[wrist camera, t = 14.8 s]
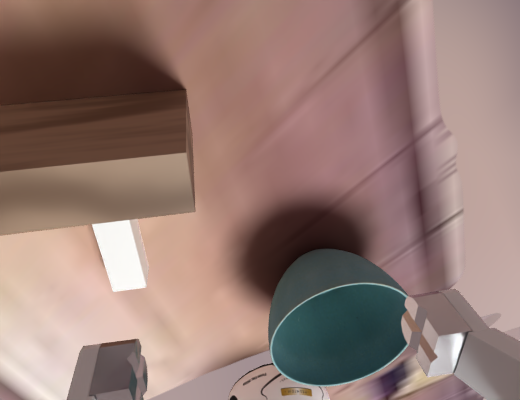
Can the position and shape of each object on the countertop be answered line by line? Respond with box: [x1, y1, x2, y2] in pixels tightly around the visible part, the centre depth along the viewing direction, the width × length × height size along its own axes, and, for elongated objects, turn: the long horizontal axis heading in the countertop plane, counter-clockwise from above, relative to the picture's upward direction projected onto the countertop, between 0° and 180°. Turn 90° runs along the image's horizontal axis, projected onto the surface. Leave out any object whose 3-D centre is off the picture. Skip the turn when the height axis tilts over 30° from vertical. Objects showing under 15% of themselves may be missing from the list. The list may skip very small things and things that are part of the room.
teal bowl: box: [268, 249, 408, 386], centre depth 53 cm, size 18×18×12 cm
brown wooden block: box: [0, 90, 195, 235], centre depth 36 cm, size 8×20×16 cm, turn 92°
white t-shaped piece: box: [92, 219, 149, 292], centre depth 45 cm, size 17×8×6 cm, turn 2°
